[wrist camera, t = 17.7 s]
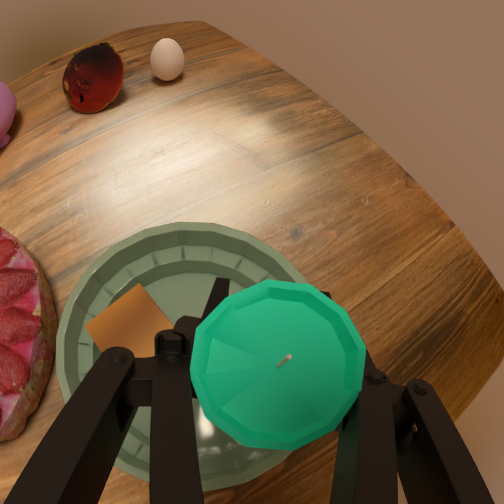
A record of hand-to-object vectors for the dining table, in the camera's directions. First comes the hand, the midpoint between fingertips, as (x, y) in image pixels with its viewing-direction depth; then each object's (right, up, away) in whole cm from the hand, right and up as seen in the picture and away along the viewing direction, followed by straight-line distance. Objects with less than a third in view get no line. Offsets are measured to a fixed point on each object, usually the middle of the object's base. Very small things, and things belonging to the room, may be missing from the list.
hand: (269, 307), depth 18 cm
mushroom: (-27, +30, +26) cm, 48 cm away
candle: (-1, -5, +2) cm, 6 cm away
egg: (-14, +31, +27) cm, 44 cm away
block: (-10, -5, +8) cm, 14 cm away
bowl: (-6, -6, +9) cm, 13 cm away
